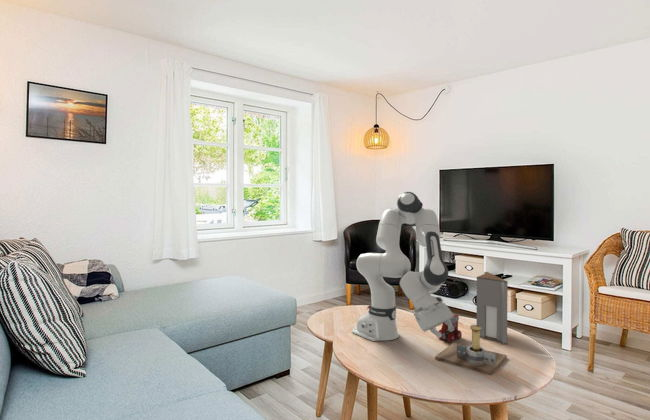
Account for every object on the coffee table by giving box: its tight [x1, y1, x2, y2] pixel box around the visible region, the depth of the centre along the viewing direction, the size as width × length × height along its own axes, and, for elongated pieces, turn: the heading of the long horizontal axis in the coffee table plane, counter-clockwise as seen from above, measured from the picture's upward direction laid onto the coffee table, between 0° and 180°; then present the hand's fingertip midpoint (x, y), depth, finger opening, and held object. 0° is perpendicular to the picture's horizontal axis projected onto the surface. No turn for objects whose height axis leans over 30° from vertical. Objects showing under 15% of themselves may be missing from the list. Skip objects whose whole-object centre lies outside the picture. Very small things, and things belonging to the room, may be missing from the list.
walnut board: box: [434, 342, 508, 376], centre depth 159 cm, size 22×19×1 cm
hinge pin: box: [469, 324, 481, 352], centre depth 153 cm, size 4×4×14 cm
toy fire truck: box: [437, 314, 462, 343], centre depth 181 cm, size 7×12×10 cm, turn 128°
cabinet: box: [476, 271, 509, 345], centre depth 183 cm, size 21×10×28 cm, turn 0°
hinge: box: [457, 345, 496, 367], centre depth 153 cm, size 15×6×5 cm, turn 50°
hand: (446, 334), depth 162 cm, fingers open, 8 cm apart
